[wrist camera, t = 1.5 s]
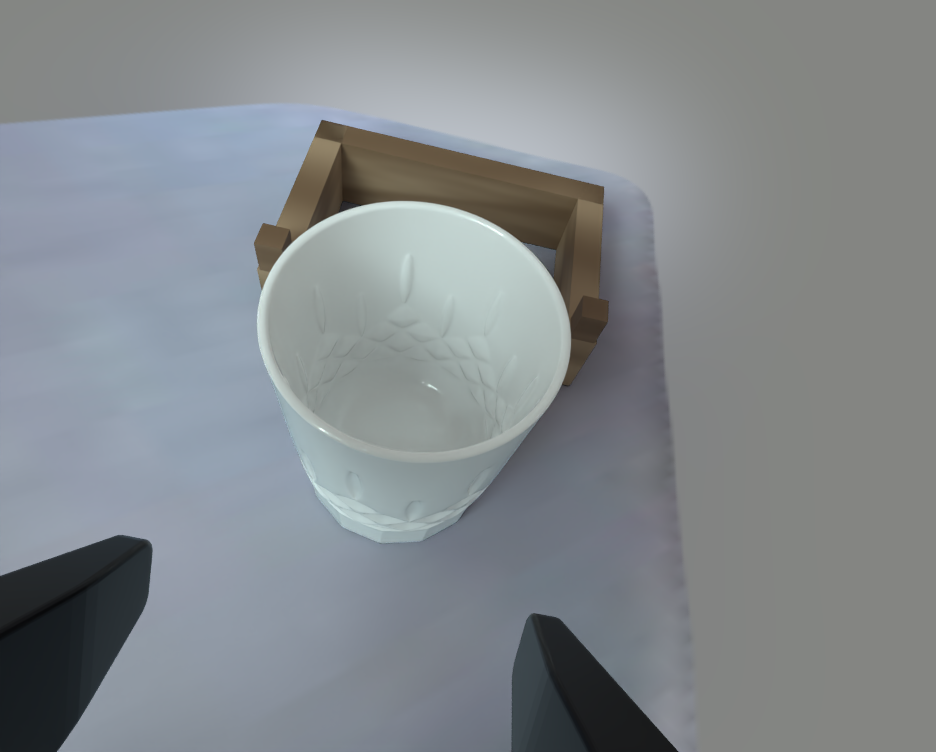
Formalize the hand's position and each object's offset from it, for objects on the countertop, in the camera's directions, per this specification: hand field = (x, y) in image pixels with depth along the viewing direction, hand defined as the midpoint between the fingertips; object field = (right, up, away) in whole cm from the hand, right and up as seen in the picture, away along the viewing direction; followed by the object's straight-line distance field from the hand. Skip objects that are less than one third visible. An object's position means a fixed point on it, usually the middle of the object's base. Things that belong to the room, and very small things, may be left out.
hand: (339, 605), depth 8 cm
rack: (0, +8, +20) cm, 22 cm away
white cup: (-1, 0, +16) cm, 16 cm away
